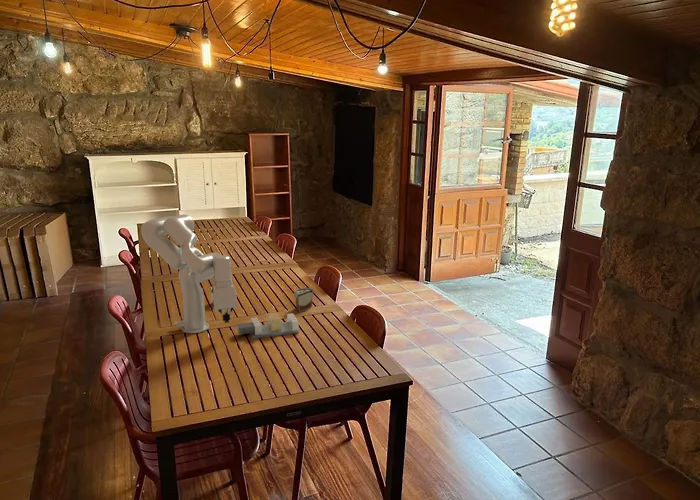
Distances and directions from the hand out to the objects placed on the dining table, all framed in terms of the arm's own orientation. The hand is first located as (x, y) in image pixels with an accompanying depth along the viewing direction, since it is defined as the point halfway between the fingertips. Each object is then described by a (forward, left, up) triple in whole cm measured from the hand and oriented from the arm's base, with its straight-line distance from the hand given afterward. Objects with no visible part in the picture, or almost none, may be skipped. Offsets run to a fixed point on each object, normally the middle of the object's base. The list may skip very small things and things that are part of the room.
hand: (226, 321), depth 225 cm
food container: (+42, +26, -8) cm, 50 cm away
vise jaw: (+10, +1, -6) cm, 12 cm away
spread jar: (+3, +45, -8) cm, 46 cm away
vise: (+21, +1, -8) cm, 23 cm away
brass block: (+22, +1, -6) cm, 23 cm away
